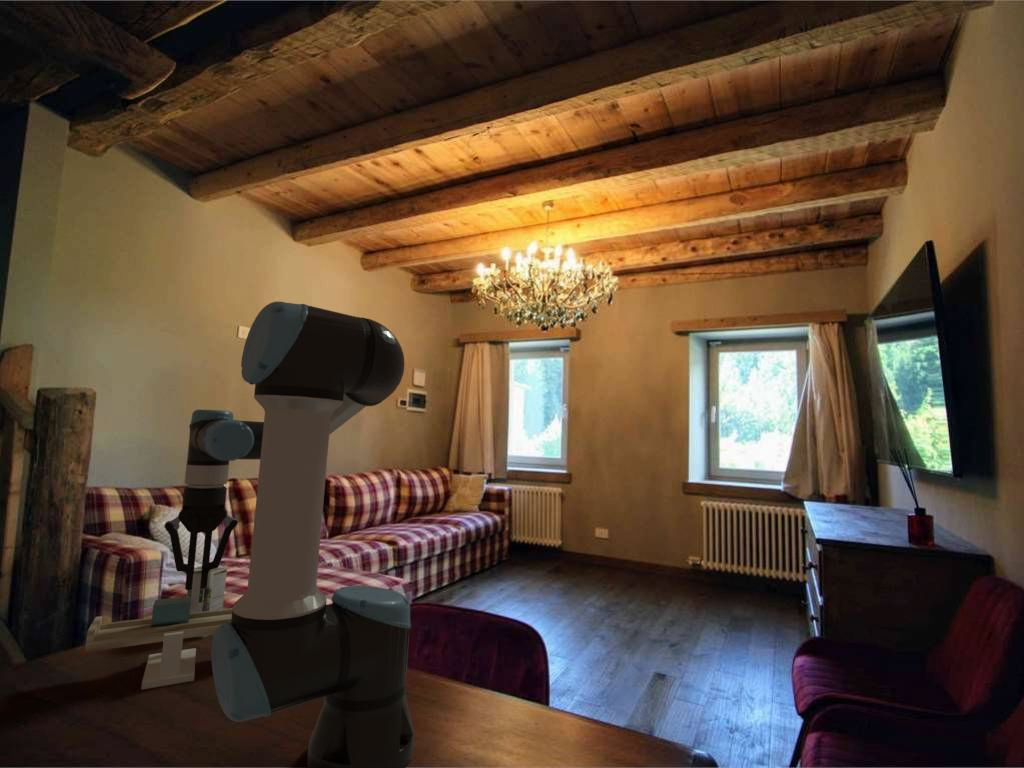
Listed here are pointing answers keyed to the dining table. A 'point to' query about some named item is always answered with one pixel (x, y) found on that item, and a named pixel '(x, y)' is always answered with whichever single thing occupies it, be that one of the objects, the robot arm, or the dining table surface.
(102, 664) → the dining table surface
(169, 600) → the rider
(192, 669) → the pivot stand
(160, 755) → the dining table surface
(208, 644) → the dining table surface
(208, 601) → the syrup box
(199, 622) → the balance beam
